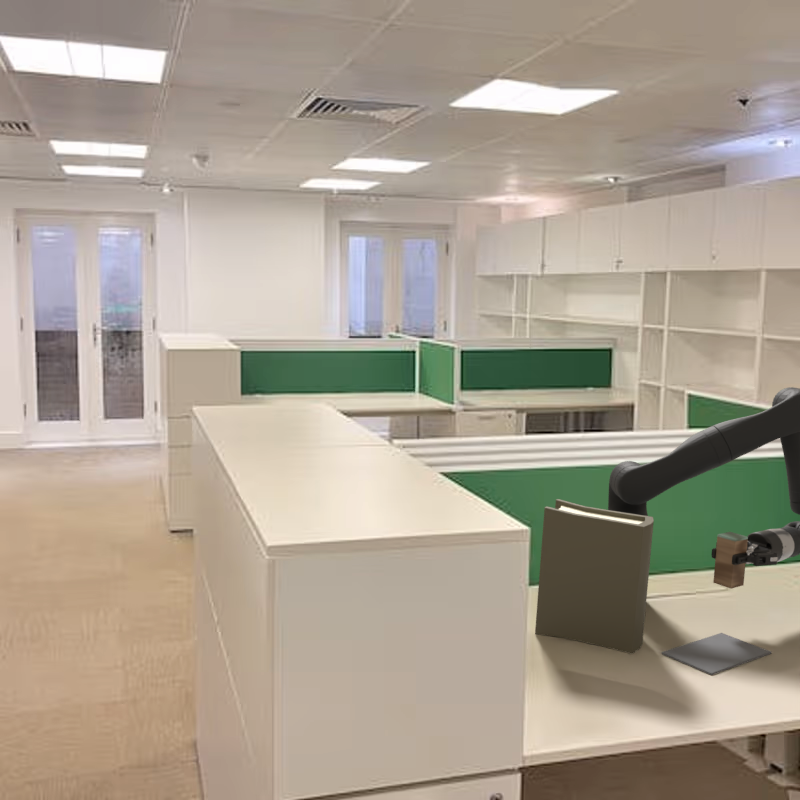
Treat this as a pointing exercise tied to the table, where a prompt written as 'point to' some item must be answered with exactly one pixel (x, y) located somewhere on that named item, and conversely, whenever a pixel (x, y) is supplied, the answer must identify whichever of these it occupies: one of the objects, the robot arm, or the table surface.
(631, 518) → the book
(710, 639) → the rubber mat
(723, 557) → the walnut block
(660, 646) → the table surface
